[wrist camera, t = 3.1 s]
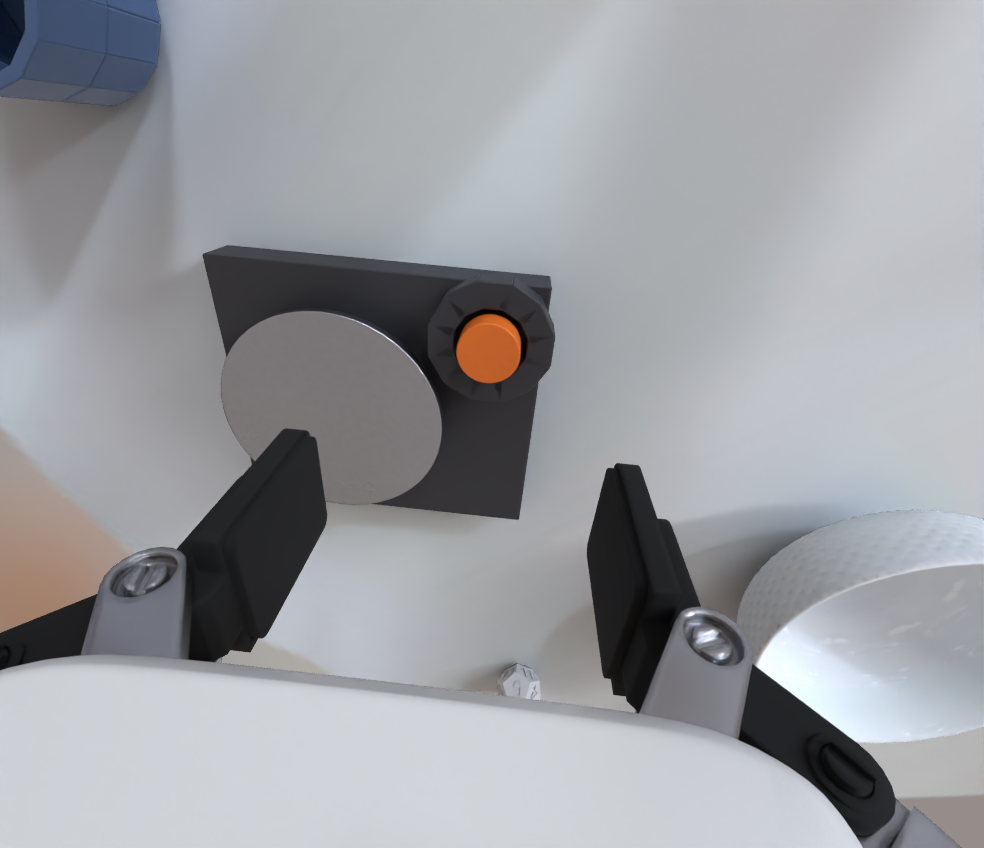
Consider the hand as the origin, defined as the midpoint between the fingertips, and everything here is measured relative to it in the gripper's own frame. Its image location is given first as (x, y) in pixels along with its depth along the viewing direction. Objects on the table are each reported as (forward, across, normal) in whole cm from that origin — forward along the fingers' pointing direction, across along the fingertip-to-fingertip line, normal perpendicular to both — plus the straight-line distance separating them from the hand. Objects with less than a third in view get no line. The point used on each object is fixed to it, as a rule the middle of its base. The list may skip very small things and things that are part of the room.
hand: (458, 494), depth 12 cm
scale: (+14, +6, +4) cm, 16 cm away
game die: (+14, -4, +30) cm, 34 cm away
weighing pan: (+10, +8, +5) cm, 14 cm away
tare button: (+11, 0, 0) cm, 11 cm away
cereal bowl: (+14, -24, +14) cm, 32 cm away
